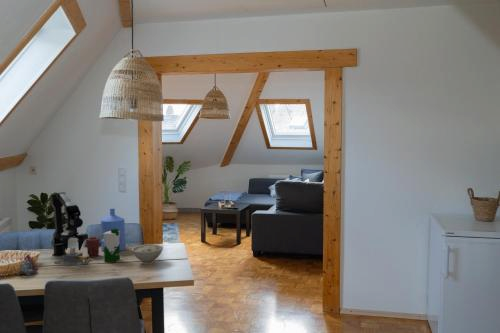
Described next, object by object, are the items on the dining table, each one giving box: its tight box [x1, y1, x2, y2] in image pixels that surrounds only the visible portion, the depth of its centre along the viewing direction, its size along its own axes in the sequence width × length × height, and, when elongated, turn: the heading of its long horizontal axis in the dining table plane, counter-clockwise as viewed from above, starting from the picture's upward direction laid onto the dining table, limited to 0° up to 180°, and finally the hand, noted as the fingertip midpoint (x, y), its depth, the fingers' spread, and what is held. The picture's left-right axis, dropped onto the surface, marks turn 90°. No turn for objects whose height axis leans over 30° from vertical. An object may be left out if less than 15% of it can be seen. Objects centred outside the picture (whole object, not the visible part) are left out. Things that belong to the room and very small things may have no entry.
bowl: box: [131, 244, 164, 265], centre depth 298 cm, size 19×19×10 cm
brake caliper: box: [18, 254, 39, 276], centre depth 277 cm, size 11×11×12 cm
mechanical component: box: [84, 236, 102, 258], centre depth 315 cm, size 12×10×10 cm
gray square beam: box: [69, 246, 76, 255], centre depth 301 cm, size 2×2×8 cm
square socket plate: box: [54, 251, 93, 266], centre depth 301 cm, size 19×12×5 cm, turn 75°
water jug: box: [100, 208, 126, 252], centre depth 331 cm, size 16×16×28 cm
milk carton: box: [102, 229, 121, 263], centre depth 303 cm, size 9×9×20 cm
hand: (73, 249), depth 301 cm, fingers open, 9 cm apart
